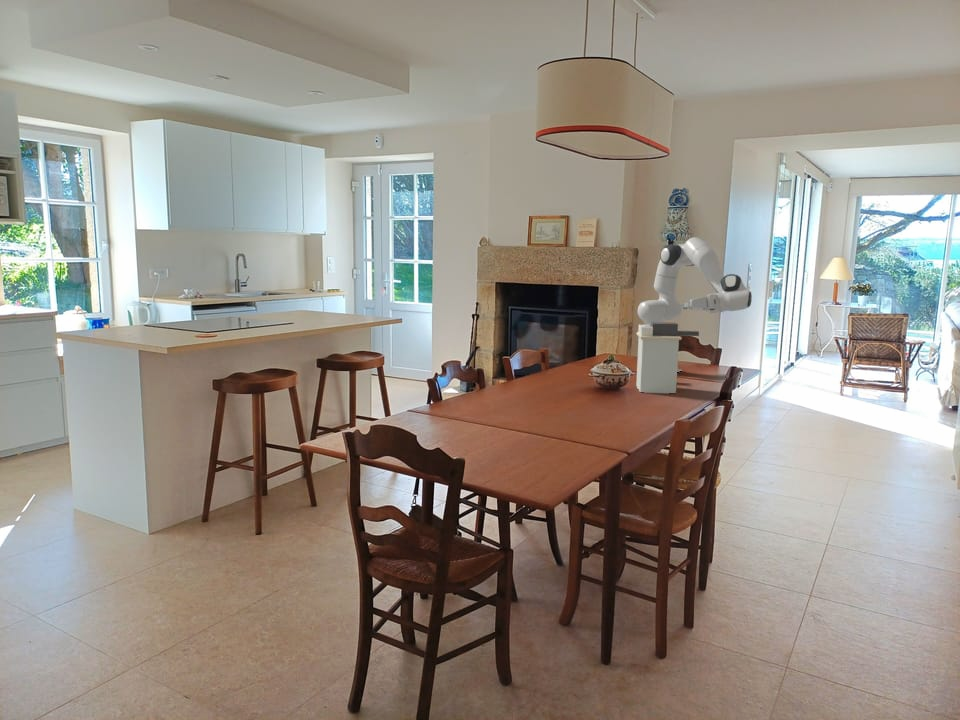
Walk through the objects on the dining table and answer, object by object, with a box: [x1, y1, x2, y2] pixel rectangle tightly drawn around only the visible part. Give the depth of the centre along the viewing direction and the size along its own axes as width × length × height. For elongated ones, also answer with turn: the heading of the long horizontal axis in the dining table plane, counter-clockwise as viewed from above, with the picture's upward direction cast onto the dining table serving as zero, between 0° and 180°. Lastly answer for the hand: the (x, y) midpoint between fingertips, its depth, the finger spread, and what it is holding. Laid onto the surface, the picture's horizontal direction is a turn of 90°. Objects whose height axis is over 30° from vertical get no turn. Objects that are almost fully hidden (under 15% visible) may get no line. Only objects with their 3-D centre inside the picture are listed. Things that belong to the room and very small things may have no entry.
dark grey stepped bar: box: [651, 321, 700, 337], centre depth 315 cm, size 24×7×6 cm, turn 84°
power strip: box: [637, 323, 653, 336], centre depth 317 cm, size 5×12×4 cm, turn 174°
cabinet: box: [635, 331, 683, 394], centre depth 318 cm, size 18×18×26 cm
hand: (681, 306), depth 315 cm, fingers open, 8 cm apart
